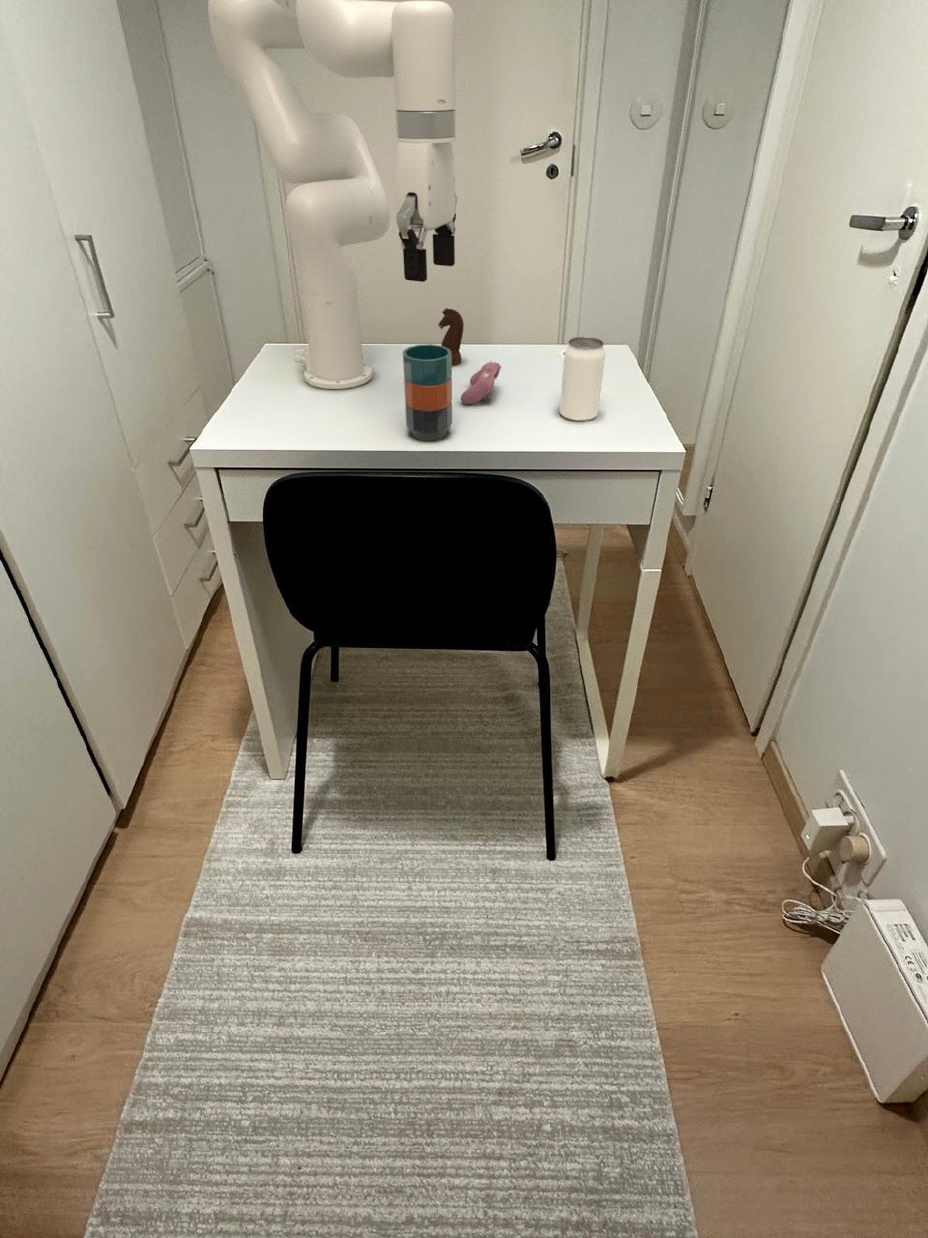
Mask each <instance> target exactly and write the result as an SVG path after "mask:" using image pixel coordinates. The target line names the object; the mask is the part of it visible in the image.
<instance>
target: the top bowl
mask: <svg viewBox="0 0 928 1238" xmlns="http://www.w3.org/2000/svg"><path fill="white" fill-rule="evenodd" d="M402 366H403V367H402V369H403V380H404V379H405V380H406V381H407V382H408V383H411V384H414V385H419V386H435V385H441V384H444V383H446V382H448V381H449V380H450V379H451V378H452V376H453V366H452V353H451V350H450V349H448V348H446V347H444V346H441V345H438V344H432V343H431V344H416V345H412V346H407V348H404V350H402Z"/></svg>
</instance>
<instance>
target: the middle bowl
mask: <svg viewBox="0 0 928 1238" xmlns="http://www.w3.org/2000/svg"><path fill="white" fill-rule="evenodd" d="M403 388H404V404H405V403H406V405H407V406H409V407H411V408H413V409H417V410H426V411H430V410H439V409H443V408H445V407H447V406H449V405H450V404H451V401H452V400H453V379H452V377H451V379H450V380H449V381H448V382H446V383H444V384H441V385H435V386H419V385H414V384H411V383H408V382H407V381H406V380H405V379H404V378H403ZM452 402H453V401H452Z"/></svg>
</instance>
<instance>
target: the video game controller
mask: <svg viewBox="0 0 928 1238" xmlns="http://www.w3.org/2000/svg"><path fill="white" fill-rule="evenodd" d="M501 369H502V365H501V364H499V363H498V362H497V361H494V362H493V361H492V360H491V359H490V360H489V362H487V363H484V364H483V365H482V367H481V368H480V370H478V371H476V372H475V373H473V375H472V376H471V377H470V378H469V383H470V385H471V386H470V387H468V388H467V389H466V390H465V391H464V392H462V394H461V396H460V402H461V403H462V404H463V405H473V404H475V403H478V402H479V401H484V400H485V399H486V397H487V395H488V394H489V393H490V392H491V393H494V392H495V390H496V387H497V386H496V385H495V380H497V378H498V376H499V375H500V371H501Z"/></svg>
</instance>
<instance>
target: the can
mask: <svg viewBox="0 0 928 1238" xmlns="http://www.w3.org/2000/svg"><path fill="white" fill-rule="evenodd" d="M604 344H605V342H604V341H603V340H602V339H600V338H596V337H592V336H577V337H576V336H575V337H572V338H569V340H568V344H567V346H566V348H565V350H564V355H563V356H564V358H563V365H562V366H563V369H562V378H561V390H560V400H559V402H560V403H559V414H560V415H561V417H562V418H564V419H566V420H569V421H573V422H589V421H591V420H593V419H595V418H596V417H597V416H598V413H599V407H600V400H601V392H602V385H603V384H602V383H603V376H604V367H605V359H606V350H605V348H604Z"/></svg>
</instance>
